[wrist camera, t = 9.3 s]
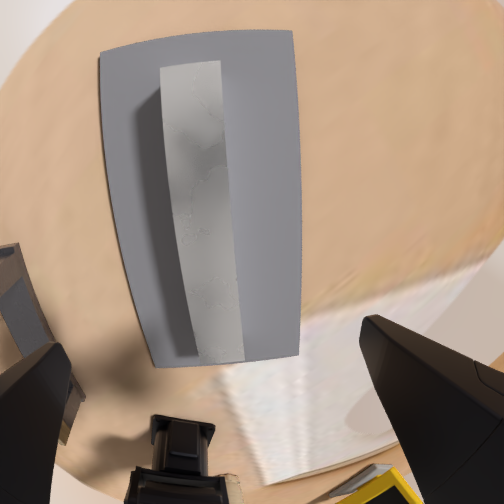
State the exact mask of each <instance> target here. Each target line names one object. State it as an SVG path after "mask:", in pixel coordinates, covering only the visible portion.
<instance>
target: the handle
mask: <svg viewBox="0 0 504 504" xmlns="http://www.w3.org/2000/svg"><path fill="white" fill-rule="evenodd" d="M219 476H224V477H225V482H226V488H227V493H228V499H229V504H244V500H243V495H242V490H241V487H240V485H238V483H240V481H239V478H238V476H236V475H231V474H226V475H219Z"/></svg>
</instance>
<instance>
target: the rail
mask: <svg viewBox="0 0 504 504" xmlns="http://www.w3.org/2000/svg"><path fill="white" fill-rule="evenodd" d="M160 87H161V104H162V119H163V132H164V144H165V154H166V164H167V173H168V182H169V190H170V198H171V206H172V213H173V220H174V227H175V234H176V241H177V247H178V253H179V259H180V265H181V271H182V276H183V282H184V287H185V293H186V298H187V303H188V308H189V313H190V318H191V323H192V327H193V332H194V337H195V341H196V346H197V350H198V354H199V359H200V363H201V364H215V363H227V362H237V361H245V356H244V346H243V336H242V327H241V317H240V306H239V296H238V285H237V275H236V264H235V253H234V241H233V230H232V218H231V206H230V193H229V180H228V167H227V154H226V140H225V126H224V111H223V95H222V79H221V62H220V60H218V61H207V62H197V63H189V64H181V65H174V66H167V67H161V68H160Z"/></svg>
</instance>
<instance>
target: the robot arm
mask: <svg viewBox="0 0 504 504" xmlns="http://www.w3.org/2000/svg"><path fill="white" fill-rule="evenodd" d="M359 345H360V348H361V351H362V354H363V357H364V359H365V362H366V365H367V368H368V371H369V374H370V377H371V380H372V382H373V385H374V388H375V390H376V392H377V395H378V396H379V399H380V401H381V403H382V405H383V407H384V409H385V412H386V414H387V415H388V418H389V420H390V422H391V425H392V427H393V429H394V431H395V433H396V436H397V438H398V440H399V442H400V445H401V447H402V449H403V452H404V454H405V456H406V459H407V461H408V463H409V466H410V468H411V470H412V473H413V475H414V477H415V480H416V482H417V485H418V487H419V490H420V492H421V495H422V497H423V499H424V503H425V504H504V373H503V372H500V371H498V370H495V369H493V368H491V367H488V366H486V365H484V364H482V363H480V362H478V361H473V359H471V358H469V357H467V356H465V355H463V354H460V353H458V352H456V351H454V350H452V349H450V348H448V347H445V346H443V345H441V344H439V343H437V342H435V341H433V340H431V339H428V338H426V337H424V336H422V335H420V334H418V333H416V332H414V331H412V330H409V329H407V328H405V327H403V326H401V325H399V324H397V323H395V322H392V321H390V320H388V319H386V318H384V317H382V316H380V315H377V314H375V315H370V316H366V317H364V319H363V321H362V326H361V332H360V337H359ZM70 375H71V362H70V360H69V358H68V356H67V354H66V353H65V351H64V349H63V347H62V345H61V344H60V343H59V342H48V343H46V344H44V345H43V346H41V347H40V348H39V349H37V350H36V351H34V352H33V353H31V354H30V355H28V356H27V357H25V358H24V359H22V360H21V361H19V362H18V363H16V364H15V365H14V366H12V367H11V368H9V369H8V370H6V371H5V372H4V373H2V374H1V375H0V504H49V503H50V493H51V483H52V476H53V469H54V462H55V456H56V450H57V445H58V440H59V435H60V430H61V425H62V421H63V416H64V411H65V406H66V399H67V393H68V386H69V380H70ZM214 432H215V425H213V424H208V423H201V422H194V421H187V420H181V419H176V418H170V417H165V416H160V415H155V416H154V418H153V427H152V439H151V444H152V445H154V451H153V460H152V470H151V469H145V468H142V467H139V466H136V469H135V471H131V476H130V483H129V487H128V490H127V493H126V496H125V499H124V504H229V499H228V493H227V488H226V482H225V477H224V476H219V477H212V476H208V446H209V444H210V441H211V439H212V437H213V434H214Z"/></svg>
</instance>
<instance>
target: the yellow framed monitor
mask: <svg viewBox="0 0 504 504" xmlns="http://www.w3.org/2000/svg"><path fill="white" fill-rule="evenodd" d="M350 493H353V494H351V495H349V496H348V497H346V498H344V499H343V500H341V501H339V502H337V503H335V504H423V502H422V501H421V500H420V498H419V497H418V496H417V495H416V494H415V492H414V491H413V490H412V488H411V487H410V486H409V485H408V484H407V482H406V481H405V480H404V478H403V477H402V476H401V474H400V473H399V472H398V471H397V469H396V468H395V467H393V465H388V464H373V465H371V466H370V467H368V468H367V469H366V470H364V471H363V472H361V473H360V474H359V475H357V476H356V477H354V478H353V479H351V480H350V481H348V482H347V483H345V484H344V485H342V486H340V487H339V488H337V489H336V490H334V491H332V492H331V493H329V497H336V496H341V495H346V494H350Z"/></svg>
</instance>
